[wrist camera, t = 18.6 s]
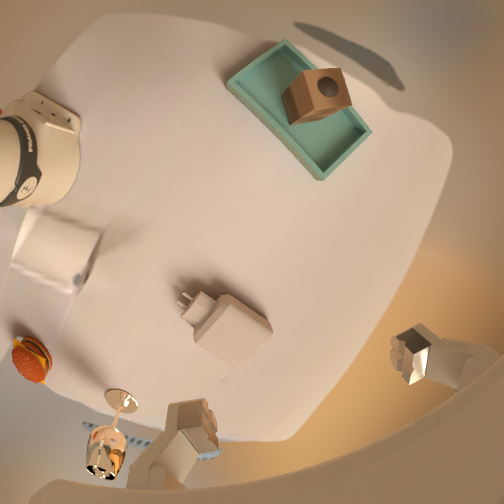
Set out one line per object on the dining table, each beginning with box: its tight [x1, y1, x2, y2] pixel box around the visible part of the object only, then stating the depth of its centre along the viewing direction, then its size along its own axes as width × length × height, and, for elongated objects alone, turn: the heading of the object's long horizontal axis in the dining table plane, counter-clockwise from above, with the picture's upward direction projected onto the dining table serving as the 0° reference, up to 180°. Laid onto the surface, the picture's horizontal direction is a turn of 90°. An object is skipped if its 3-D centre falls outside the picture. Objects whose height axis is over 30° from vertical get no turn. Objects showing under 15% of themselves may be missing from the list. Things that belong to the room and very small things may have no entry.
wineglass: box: [86, 390, 138, 480], centre depth 38 cm, size 8×8×20 cm
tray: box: [226, 39, 372, 181], centre depth 37 cm, size 20×12×3 cm, turn 44°
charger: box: [176, 291, 273, 368], centre depth 43 cm, size 5×9×15 cm
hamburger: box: [12, 337, 52, 384], centre depth 40 cm, size 9×10×7 cm
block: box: [281, 68, 352, 125], centre depth 32 cm, size 5×5×11 cm
